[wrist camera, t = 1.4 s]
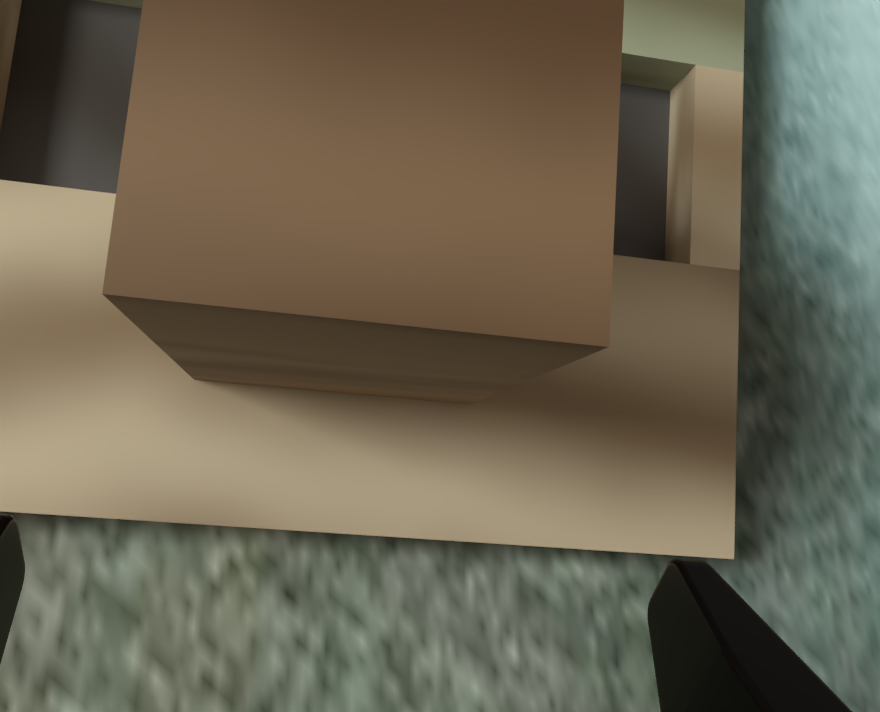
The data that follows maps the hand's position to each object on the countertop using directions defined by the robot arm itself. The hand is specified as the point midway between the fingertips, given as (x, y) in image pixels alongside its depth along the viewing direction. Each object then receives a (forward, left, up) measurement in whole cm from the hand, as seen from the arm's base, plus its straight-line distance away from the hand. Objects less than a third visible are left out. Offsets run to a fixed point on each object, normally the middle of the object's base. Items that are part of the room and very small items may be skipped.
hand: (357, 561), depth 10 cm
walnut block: (+7, 0, -11) cm, 13 cm away
